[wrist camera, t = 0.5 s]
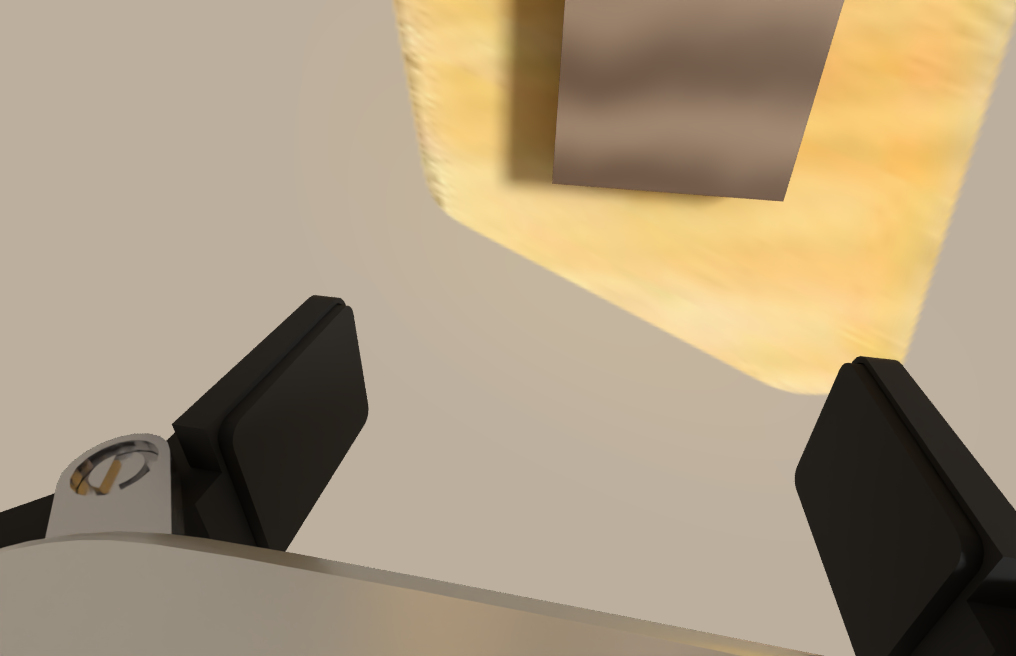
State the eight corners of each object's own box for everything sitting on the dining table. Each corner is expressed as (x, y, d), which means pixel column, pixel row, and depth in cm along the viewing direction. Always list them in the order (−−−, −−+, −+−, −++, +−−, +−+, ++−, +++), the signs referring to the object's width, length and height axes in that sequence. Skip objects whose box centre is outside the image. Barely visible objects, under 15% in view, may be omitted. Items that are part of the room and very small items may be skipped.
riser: (577, -82, 30) (571, -95, 26) (842, -81, 28) (872, -95, 24) (558, 168, 37) (552, 183, 33) (767, 183, 35) (783, 201, 31)
